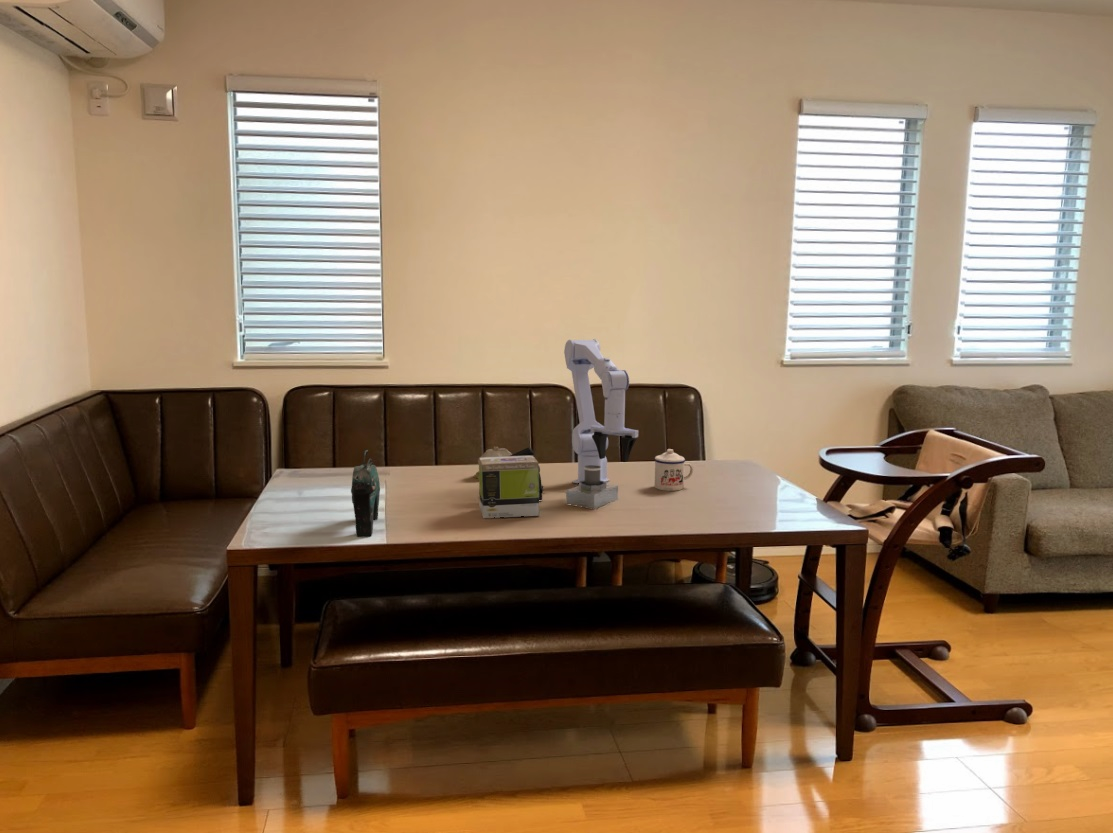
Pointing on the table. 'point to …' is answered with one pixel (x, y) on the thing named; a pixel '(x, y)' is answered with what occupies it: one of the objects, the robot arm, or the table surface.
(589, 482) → the cup
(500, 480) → the tea box
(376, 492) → the ceramic cat
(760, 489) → the table surface
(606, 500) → the square base socket
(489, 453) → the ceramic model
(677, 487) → the teacup with lid
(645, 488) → the table surface
